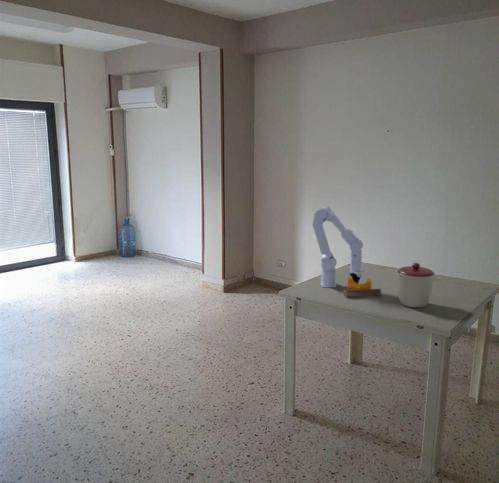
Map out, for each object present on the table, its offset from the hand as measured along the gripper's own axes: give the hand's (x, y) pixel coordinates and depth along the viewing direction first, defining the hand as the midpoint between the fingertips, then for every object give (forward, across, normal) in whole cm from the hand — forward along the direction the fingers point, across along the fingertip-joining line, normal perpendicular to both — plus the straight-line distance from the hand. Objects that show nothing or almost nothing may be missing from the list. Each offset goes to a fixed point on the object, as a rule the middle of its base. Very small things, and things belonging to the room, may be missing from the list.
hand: (355, 286), depth 264 cm
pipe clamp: (+1, -4, -1) cm, 5 cm away
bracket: (+1, -12, 0) cm, 12 cm away
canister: (+2, -29, -21) cm, 36 cm away
